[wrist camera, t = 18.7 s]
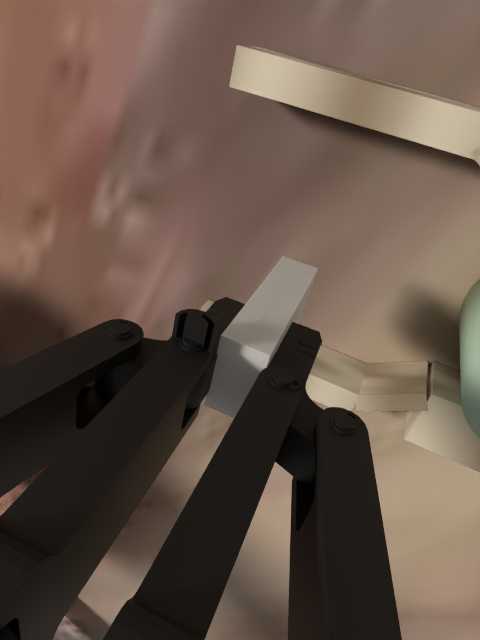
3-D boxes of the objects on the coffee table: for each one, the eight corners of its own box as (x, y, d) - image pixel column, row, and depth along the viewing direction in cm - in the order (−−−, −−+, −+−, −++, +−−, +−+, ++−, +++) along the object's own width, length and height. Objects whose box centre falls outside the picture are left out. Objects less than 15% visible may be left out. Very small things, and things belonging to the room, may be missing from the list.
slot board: (205, 319, 28) (174, 352, 25) (261, 47, 20) (226, 43, 17) (594, 482, 24) (618, 547, 21) (872, 215, 16) (983, 254, 12)
